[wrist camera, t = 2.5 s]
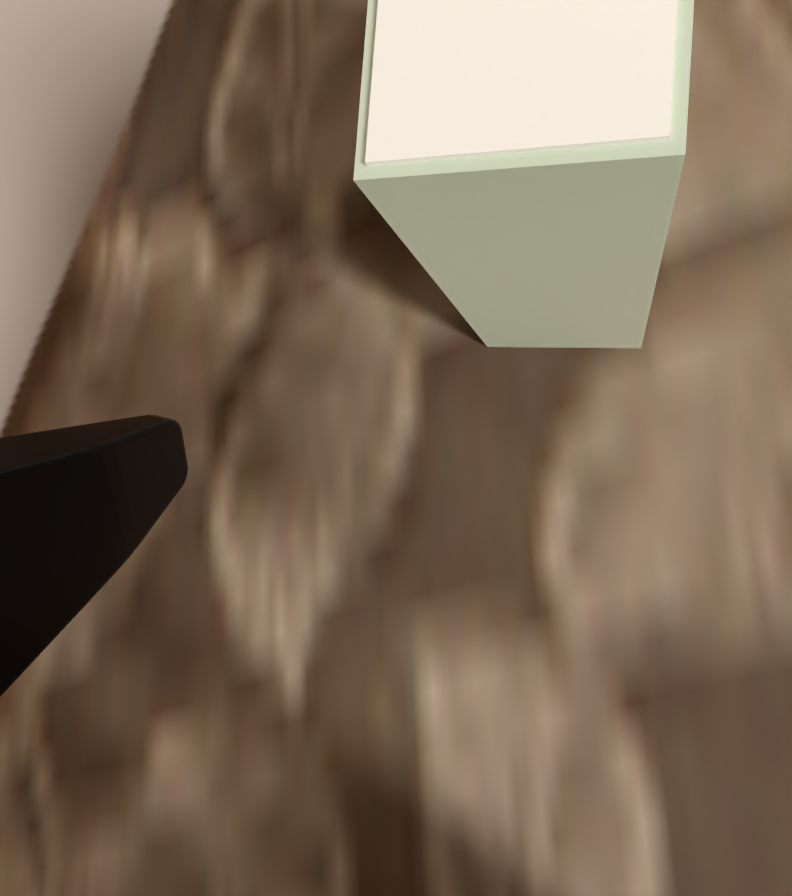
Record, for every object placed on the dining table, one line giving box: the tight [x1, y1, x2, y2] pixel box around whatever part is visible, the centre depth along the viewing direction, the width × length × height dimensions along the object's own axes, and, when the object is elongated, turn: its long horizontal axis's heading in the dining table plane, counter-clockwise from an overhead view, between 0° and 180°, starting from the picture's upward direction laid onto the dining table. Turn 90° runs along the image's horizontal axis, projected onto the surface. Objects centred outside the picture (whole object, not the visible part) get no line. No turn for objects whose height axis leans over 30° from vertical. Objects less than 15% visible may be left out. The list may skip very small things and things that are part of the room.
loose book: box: [353, 0, 694, 348], centre depth 14 cm, size 4×7×11 cm, turn 175°
